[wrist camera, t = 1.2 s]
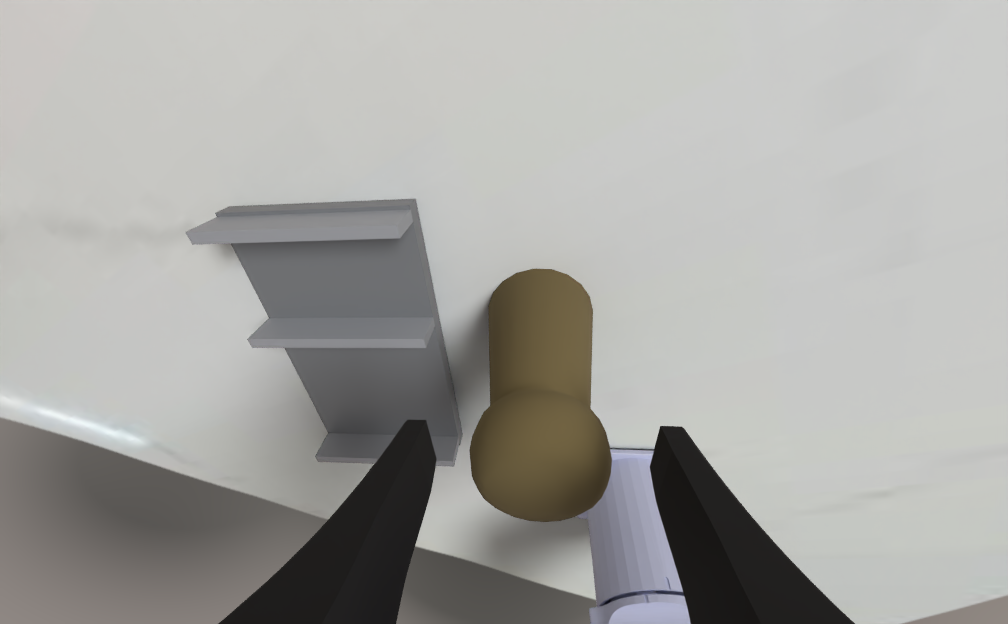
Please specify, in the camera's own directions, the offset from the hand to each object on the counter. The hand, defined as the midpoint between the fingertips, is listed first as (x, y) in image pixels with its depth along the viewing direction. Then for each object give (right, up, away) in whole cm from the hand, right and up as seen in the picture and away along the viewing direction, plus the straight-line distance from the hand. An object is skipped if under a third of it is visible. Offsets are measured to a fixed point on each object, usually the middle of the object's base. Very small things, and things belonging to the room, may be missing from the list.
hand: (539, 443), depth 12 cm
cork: (+1, +4, +10) cm, 11 cm away
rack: (-10, +2, +12) cm, 16 cm away
